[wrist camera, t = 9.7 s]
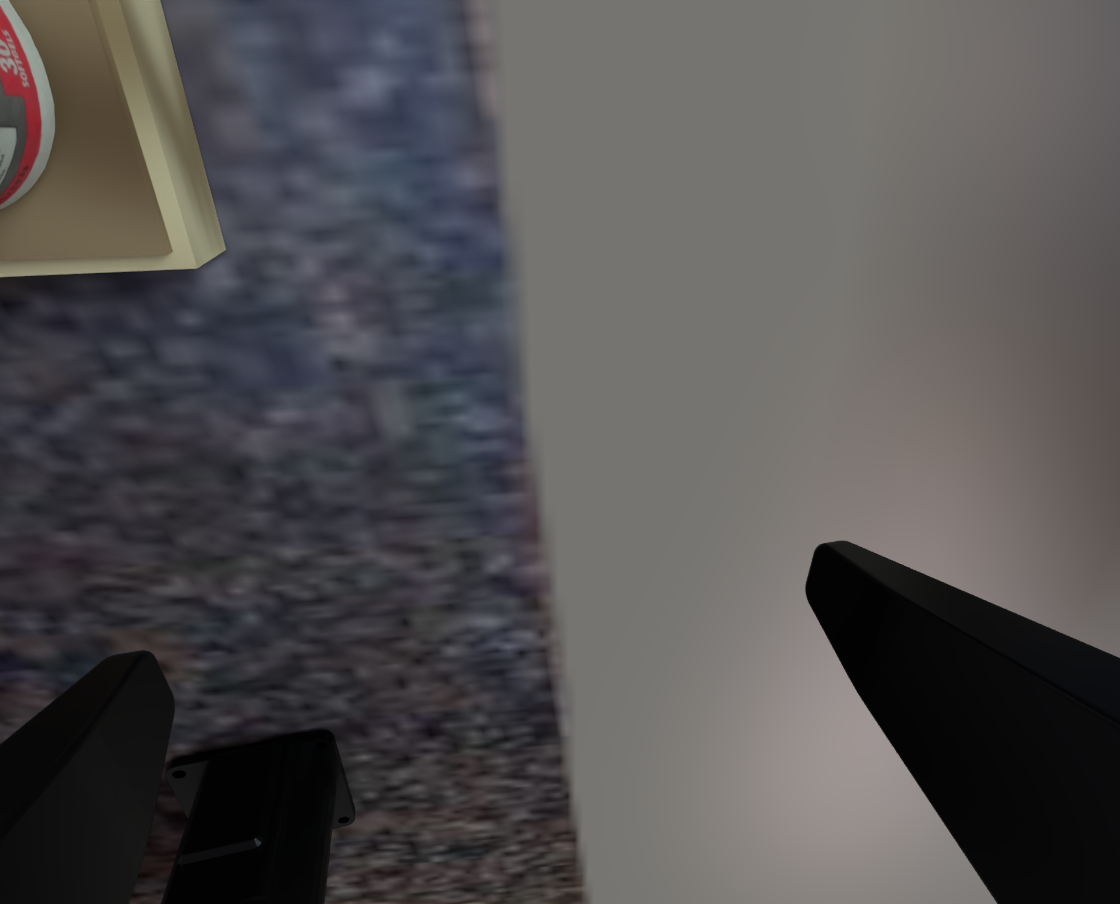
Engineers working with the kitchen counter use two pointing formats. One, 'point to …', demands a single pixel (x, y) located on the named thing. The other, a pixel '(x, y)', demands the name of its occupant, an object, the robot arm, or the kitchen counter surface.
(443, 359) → the kitchen counter surface
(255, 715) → the kitchen counter surface
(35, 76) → the pill bottle
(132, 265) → the plinth
